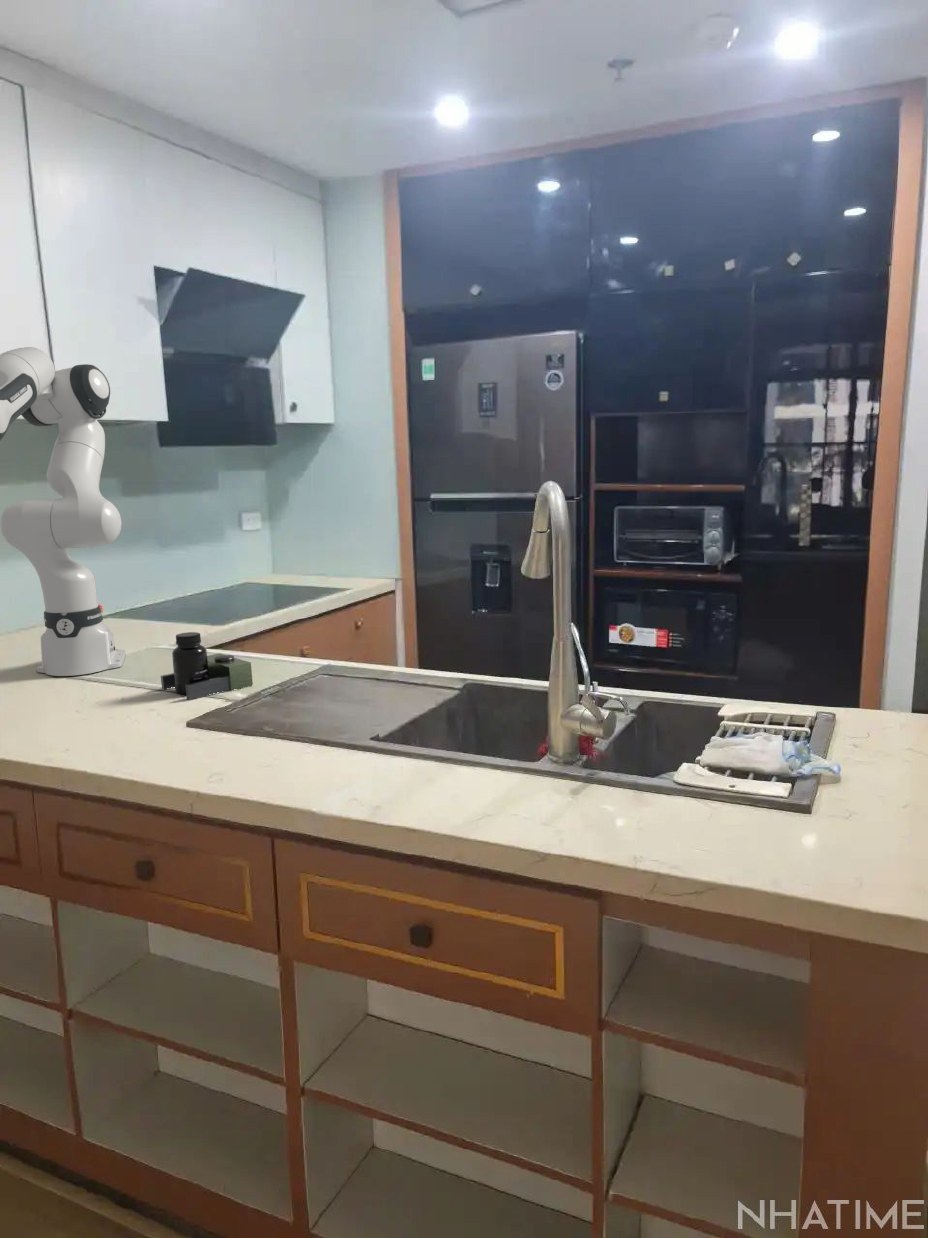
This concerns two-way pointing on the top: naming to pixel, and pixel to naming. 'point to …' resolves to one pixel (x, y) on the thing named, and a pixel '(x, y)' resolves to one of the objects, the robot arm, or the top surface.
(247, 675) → the chute bracket
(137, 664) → the top surface
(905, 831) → the top surface
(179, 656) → the supplement bottle
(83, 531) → the robot arm
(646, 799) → the top surface
